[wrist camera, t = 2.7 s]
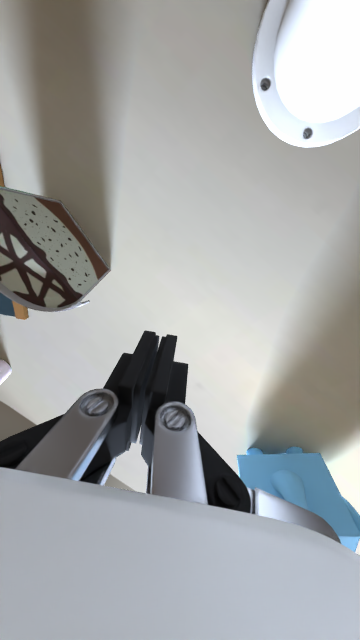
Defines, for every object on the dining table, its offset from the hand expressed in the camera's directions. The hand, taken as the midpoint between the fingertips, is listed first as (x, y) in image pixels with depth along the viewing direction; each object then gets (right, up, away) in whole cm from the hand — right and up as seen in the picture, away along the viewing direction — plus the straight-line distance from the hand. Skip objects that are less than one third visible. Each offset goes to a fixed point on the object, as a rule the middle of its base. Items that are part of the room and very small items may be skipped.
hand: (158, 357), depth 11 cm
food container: (-13, +11, +17) cm, 24 cm away
